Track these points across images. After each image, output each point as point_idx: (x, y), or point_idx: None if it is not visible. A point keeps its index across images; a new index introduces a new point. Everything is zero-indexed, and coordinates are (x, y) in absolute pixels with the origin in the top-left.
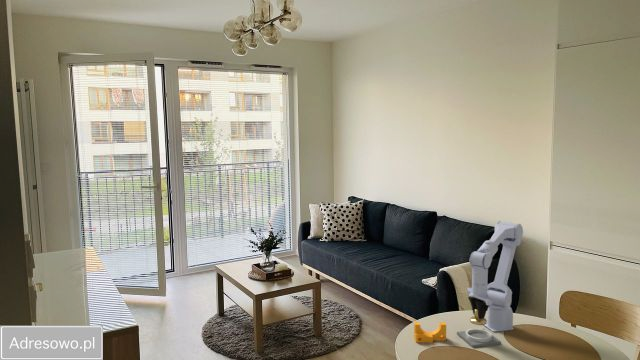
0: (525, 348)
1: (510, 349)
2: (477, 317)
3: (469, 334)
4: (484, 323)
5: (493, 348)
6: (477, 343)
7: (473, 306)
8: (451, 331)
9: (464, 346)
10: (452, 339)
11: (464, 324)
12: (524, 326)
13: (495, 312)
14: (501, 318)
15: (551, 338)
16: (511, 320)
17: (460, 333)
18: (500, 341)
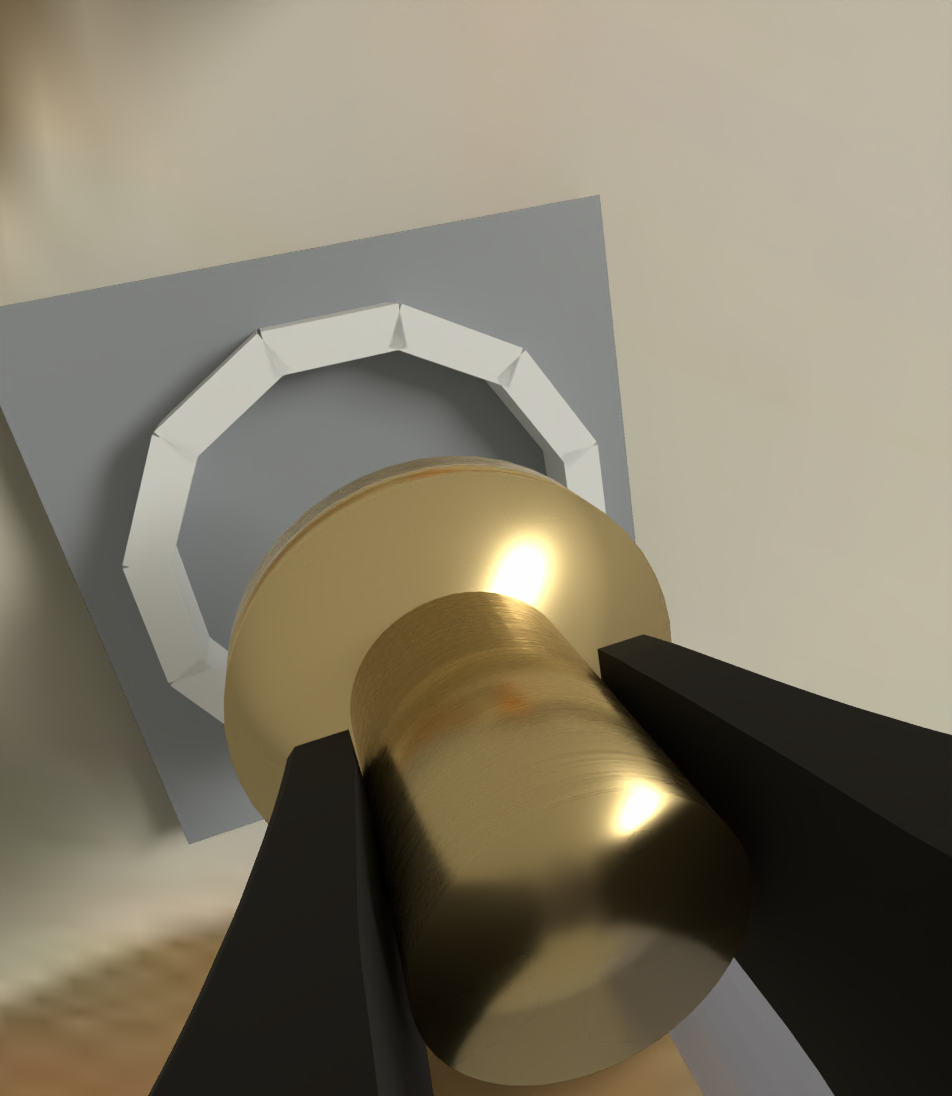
0: (73, 1076)
1: (5, 909)
2: (387, 708)
3: (474, 408)
4: (269, 796)
5: (6, 682)
6: (63, 443)
7: (833, 817)
8: (699, 141)
9: (23, 154)
10: (366, 8)
11: (876, 457)
12: (684, 1089)
13: (801, 1048)
14: (705, 1028)
15: None
16: (700, 1085)
17: (526, 245)
18: (194, 836)
